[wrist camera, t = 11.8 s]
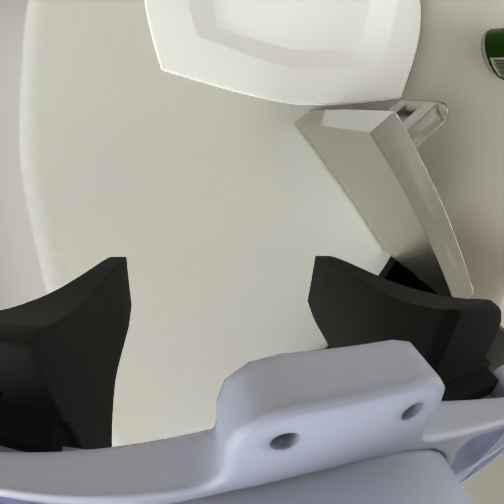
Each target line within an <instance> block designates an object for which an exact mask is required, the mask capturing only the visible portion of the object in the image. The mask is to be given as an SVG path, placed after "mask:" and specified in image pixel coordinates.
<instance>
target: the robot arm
mask: <svg viewBox="0 0 504 504" xmlns="http://www.w3.org/2000/svg"><path fill="white" fill-rule="evenodd" d="M308 303H309V306H310V309H311V312H312V314H313V317H314V319H315V322H316V323H317V325H318V327H319V329H320V331H321V332H322V334H323V336H324V338H325V339H326V341H327V343H328V345H329V346H330V348H331V349H324V350H315V351H306V352H295V353H285V354H278V355H274V356H270V357H267V358H263V359H259V360H255V361H251V362H248V363H247V364H246V365H244V366H243V367H241V368H240V369H239V370H237V371H236V372H235V373H233V374H232V375H230V376H229V377H228V378H226V379H225V381H224V383H223V386H222V388H221V390H220V393H219V395H218V397H217V419H216V424H215V426H214V427H213V428H212V429H209V430H205V431H200V432H196V433H192V434H187V435H182V436H177V437H172V438H167V439H162V440H157V441H151V442H145V443H139V444H132V445H125V446H117V447H112V412H113V398H114V387H115V379H116V374H117V369H118V365H119V361H120V357H121V353H122V349H123V346H124V342H125V338H126V334H127V331H128V327H129V320H130V312H131V298H130V289H129V280H128V271H127V260H126V257H110V258H107V259H106V260H104V261H102V262H101V263H99V264H98V265H96V266H95V267H93V268H92V269H90V270H89V271H87V272H86V273H84V274H83V275H81V276H80V277H78V278H76V279H75V280H73V281H71V282H70V283H68V284H67V285H65V286H63V287H61V288H60V289H58V290H56V291H54V292H52V293H50V294H47V295H45V296H43V297H41V298H38V299H36V300H33V301H30V302H27V303H25V304H22V305H19V306H16V307H13V308H9V309H5V310H1V311H0V504H473V502H472V500H471V499H470V497H469V496H468V494H467V493H466V491H465V489H464V488H463V486H462V484H461V483H463V482H464V481H466V480H467V479H468V478H470V477H471V476H473V475H474V474H476V473H477V472H479V471H480V470H481V469H483V468H484V467H485V466H487V465H488V464H490V463H491V462H492V461H494V460H495V459H496V458H497V457H499V456H500V455H502V454H503V453H504V365H502V366H500V367H498V368H497V369H496V370H495V371H494V372H493V373H492V372H491V371H490V370H489V369H488V368H487V367H489V366H490V361H489V360H488V359H487V358H486V355H487V353H488V351H489V349H490V347H491V345H492V343H493V341H494V339H495V337H496V335H497V332H498V330H499V327H500V323H501V310H500V308H499V307H498V306H497V305H496V304H495V303H493V302H492V301H490V300H485V299H465V298H456V297H449V296H442V295H437V294H432V293H428V292H424V291H420V290H416V289H412V288H409V287H406V286H403V285H400V284H397V283H394V282H392V281H389V280H387V279H384V278H382V277H379V276H377V275H375V274H372V273H370V272H368V271H366V270H363V269H361V268H359V267H357V266H355V265H352V264H350V263H348V262H346V261H343V260H341V259H338V258H335V257H331V256H316V257H315V263H314V269H313V275H312V281H311V286H310V292H309V297H308Z"/></svg>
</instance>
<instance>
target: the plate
mask: <svg viewBox="0 0 504 504" xmlns="http://www.w3.org/2000/svg"><path fill="white" fill-rule="evenodd" d="M144 1H145V10H146V15H147V19H148V23H149V27H150V31H151V36H152V40H153V43H154V47H155V50H156V54H157V57H158V61H159V64H160V67H161V70H162V71H165V72H169V73H172V74H175V75H179V76H182V77H185V78H188V79H191V80H195V81H199V82H202V83H206V84H209V85H213V86H216V87H219V88H223V89H226V90H229V91H233V92H237V93H241V94H245V95H249V96H253V97H257V98H260V99H265V100H271V101H276V102H281V103H287V104H291V105H320V106H323V105H343V104H357V103H366V102H377V101H384V100H391V99H399V98H401V96H402V93H403V90H404V87H405V85H406V82H407V79H408V76H409V73H410V70H411V67H412V64H413V61H414V57H415V54H416V51H417V45H418V40H419V35H420V28H421V6H420V0H144Z"/></svg>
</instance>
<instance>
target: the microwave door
mask: <svg viewBox="0 0 504 504" xmlns="http://www.w3.org/2000/svg"><path fill="white" fill-rule="evenodd" d="M447 118H448V109H447V106H446V105H445V104H444V103H442V102H435V101H407V100H401V101H399V102H397V103H396V104H395V105H394V106H392V107H391V108H390V109H389V110H387V111H381V110H311V111H309V112H308V113H307V114H306V115H304V116H303V117H302V118H301V119H300V120H298V121H297V122H296V123H295V125H296V127H297V128H298V129H299V130H300V132H301V133H302V134H303V136H304V137H305V138H306V139H307V141H308V142H309V143H310V145H311V146H312V147H313V149H314V150H315V151H316V152H317V154H318V155H319V156H320V158H321V159H322V160H323V162H324V163H325V165H326V166H327V167H328V169H329V170H330V171H331V173H332V174H333V175H334V177H335V178H336V180H337V181H338V182H339V184H340V185H341V187H342V188H343V190H344V191H345V192H346V194H347V195H348V197H349V198H350V200H351V201H352V203H353V204H354V206H355V207H356V208H357V210H358V211H359V213H360V214H361V216H362V217H363V219H364V220H365V222H366V224H367V225H368V227H369V228H370V230H371V231H372V233H373V234H374V236H375V237H376V239H377V241H378V242H379V244H380V245H381V247H382V249H383V250H385V251H386V252H387V253H388V254H390V255H391V256H392V257H393V258H395V259H396V260H397V261H399V262H400V263H401V264H402V265H404V266H405V267H406V268H407V269H408V270H410V271H411V272H412V273H413V274H415V275H416V276H417V277H418V278H420V279H421V280H422V281H423V282H424V283H426V284H427V285H428V286H429V287H430V288H432V289H433V290H434V291H435V292H436V293H437V294H439V295H442V296H449V297H456V298H465V299H470V298H471V297H472V296H473V295H474V291H473V287H472V284H471V281H470V277H469V274H468V271H467V268H466V265H465V262H464V259H463V256H462V253H461V250H460V247H459V245H458V242H457V239H456V236H455V234H454V231H453V228H452V226H451V223H450V221H449V218H448V216H447V213H446V211H445V209H444V206H443V204H442V202H441V199H440V197H439V195H438V192H437V190H436V188H435V186H434V184H433V181H432V179H431V177H430V175H429V173H428V171H427V169H426V167H425V165H424V163H423V161H422V159H421V157H420V155H419V153H418V151H417V149H416V148H417V147H418V146H419V145H420V144H421V143H423V142H424V141H425V140H426V139H427V138H428V137H429V136H430V135H431V134H432V133H433V132H434V131H435V130H436V129H438V128H439V127H440V126H441V125H442V124H443V123H444V122H445V121H446V120H447Z"/></svg>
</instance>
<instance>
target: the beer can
mask: <svg viewBox="0 0 504 504" xmlns="http://www.w3.org/2000/svg"><path fill="white" fill-rule="evenodd" d="M481 50H482V55H483V58H484V61H485V63H486V65H487V67H488V69H489V70H490V71H491V72H492V73H493V74H494V75H496V76H497V77H499V78H501V79H503V80H504V28H499V29H491V30H489V31H487V32H486V33H485V34H484V35H483V37H482V40H481Z"/></svg>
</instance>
